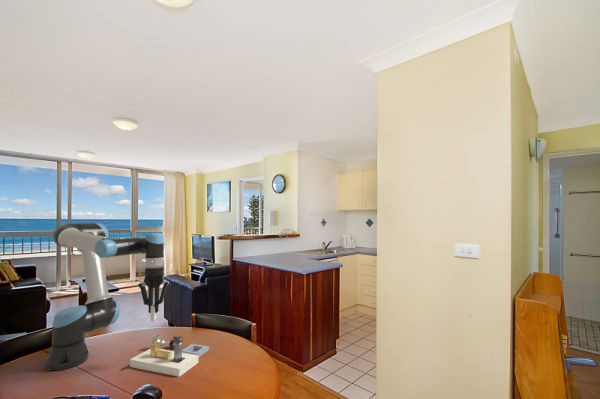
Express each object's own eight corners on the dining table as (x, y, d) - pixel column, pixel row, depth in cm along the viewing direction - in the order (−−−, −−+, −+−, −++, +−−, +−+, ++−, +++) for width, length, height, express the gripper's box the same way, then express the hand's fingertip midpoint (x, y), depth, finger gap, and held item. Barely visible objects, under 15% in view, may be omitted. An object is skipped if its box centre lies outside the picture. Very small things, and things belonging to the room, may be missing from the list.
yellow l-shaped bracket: (150, 356, 123) (150, 345, 124) (155, 353, 126) (156, 342, 127) (166, 359, 121) (167, 347, 121) (172, 355, 124) (172, 344, 124)
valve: (148, 352, 136) (171, 353, 135) (148, 338, 137) (171, 339, 136) (156, 346, 143) (178, 347, 142) (157, 333, 143) (179, 334, 142)
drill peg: (171, 368, 120) (172, 339, 120) (177, 364, 123) (178, 336, 124) (178, 369, 119) (179, 340, 119) (183, 365, 122) (184, 337, 123)
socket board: (129, 369, 121) (130, 359, 121) (151, 356, 132) (152, 347, 132) (179, 379, 113) (179, 368, 113) (198, 364, 124) (198, 355, 125)
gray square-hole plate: (180, 356, 132) (180, 350, 132) (191, 349, 140) (192, 343, 140) (198, 359, 129) (198, 353, 129) (208, 351, 137) (209, 346, 137)
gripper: (135, 268, 123) (134, 324, 121) (166, 267, 125) (166, 321, 123) (142, 266, 131) (141, 318, 129) (171, 265, 133) (171, 316, 131)
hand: (153, 319), depth 126 cm, fingers closed
